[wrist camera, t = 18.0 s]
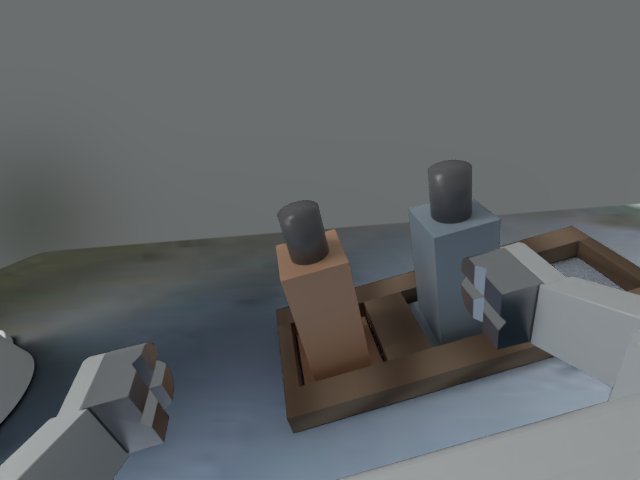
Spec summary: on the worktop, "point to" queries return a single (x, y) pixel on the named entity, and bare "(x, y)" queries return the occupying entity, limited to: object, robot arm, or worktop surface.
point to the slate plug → (449, 248)
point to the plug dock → (420, 342)
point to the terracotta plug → (320, 292)
